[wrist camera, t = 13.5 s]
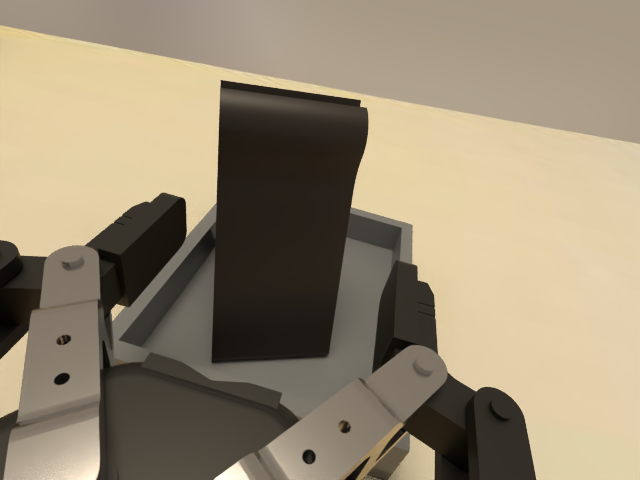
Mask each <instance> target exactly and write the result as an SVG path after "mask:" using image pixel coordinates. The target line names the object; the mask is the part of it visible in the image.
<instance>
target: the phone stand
mask: <svg viewBox="0 0 640 480" xmlns="http://www.w3.org/2000/svg"><path fill="white" fill-rule="evenodd" d="M360 103H361V100H355V99H348V98H341V97H334V96H327V95H320V94H313V93H306V92H299V91H292V90H285V89H278V88H271V87H265V86H258V85H251V84H244V83H237V82H230V81H223V80H221V88H220V114H219V146H218V179H217V209H216V239H215V269H214V299H213V329H212V360H211V361H217V360H237V359H257V358H277V357H297V356H317V355H328V354H329V350H330V343H331V337H332V330H333V323H334V316H335V310H336V303H337V296H338V290H339V283H340V276H341V270H342V263H343V256H344V249H345V243H346V236H347V229H348V223H349V216H350V209H351V203H352V196H353V189H354V184H355V179H356V175H357V171H358V168H359V165H360V162H361V159H362V156H363V154H364V150H365V146H366V142H367V135H368V111H367V108H364V107H360Z"/></svg>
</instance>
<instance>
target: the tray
mask: <svg viewBox="0 0 640 480" xmlns="http://www.w3.org/2000/svg"><path fill="white" fill-rule="evenodd" d="M216 209H217V203H216V204H215V205H214V206H213V208H212V209H211V210H210V211H209V212H208V213H207V214H206V216H205V217H204V218H203V219H202V220H201V221H200V222H199V224H198V225H197V226H196V227H195V228H194V229H193V230H192V232H191V233H190V234H189V235H188V236H187V237H186V238H185V241H184V243H183V245H182V247H181V248H180V249H179V250H178V251H177V253H176V254H175V255H174V256H173V257H172V258H171V260H170V261H169V262H168V263H167V264H166V265H165V267H164V268H163V269H162V270H161V271H160V272H159V274H158V275H157V276H156V277H155V278H154V279H153V281H152V282H151V283H150V284H149V285H148V286H147V288H146V289H145V290H144V291H143V292H142V293H141V295H140V296H139V297H138V298H137V299H136V300H135V302H134V303H133V304H132V305H131V306H130V307H125V308H124V309H123V310H122V311H121V312H120V314H119V315H118V316H117V317H116V318H115V319H114V320H113V321H112V329H113V344H114V359H115V365H119V364H124V363H130V362H144V361H145V359H146V358H147V356H148V355H149V353H150V352H152V353H155V354H158V355H161V356H165V357H168V358H171V359H174V360H178V361H181V362H183V363H185V364H186V365H188V366H190V367H191V368H193V369H194V370H196V371H197V372H199V373H201V374H202V375H204V376H205V377H207V378H208V379H210V380H214V381H229V382H247V383H252V384H255V385H259V386H262V387H265V388H268V389H272V390H275V391H278V392H281V393H282V396H281V400H280V403H281V404H282V405H284V406H285V407H287V408H288V409H289V410H290V411H291V412H293V413H294V415H295V416H296V417H297V418H298V419H299V420H301V419H303V418H304V417H305V416H307V415H308V414H309V413H311V412H312V411H313V410H315V409H316V408H317V407H319V406H320V405H321V404H323V403H324V402H325V401H327V400H328V399H329V398H331V397H332V396H333V395H335V394H336V393H337V392H339V391H340V390H341V389H343V388H344V387H345V386H347V385H348V384H349V383H351V382H352V381H353V380H355V379H357V378H361V379H362V380H364V379H366V378H368V377H369V376H370V375H371V374H372V368H373V358H374V348H375V339H376V329H377V320H378V310H379V303H380V298H381V295H382V292H383V289H384V286H385V284H386V282H387V279H388V277H389V275H390V272H391V270H392V268H393V265H394V263H395V261H396V260H399V261H403V262H406V263H410V264H412V225H411V224H408V223H404V222H401V221H397V220H394V219H390V218H386V217H383V216H379V215H376V214H372V213H369V212H365V211H362V210H358V209H355V208H351V209H350V216H349V223H348V229H347V236H346V243H345V249H344V256H343V263H342V270H341V276H340V283H339V290H338V296H337V303H336V310H335V316H334V323H333V330H332V337H331V343H330V350H329V354H328V355H317V356H297V357H277V358H257V359H237V360H217V361H211V360H212V329H213V299H214V269H215V239H216ZM409 445H410V433H407V434H406V435H405V436H404V437H403V438H402V439H401V440H400V441H399V442H398V443H397V444H396V445H395V446H394V447H393V448H392V449H391V450H390V451H389V452H388V453H387V454H386V455H385V456H384V457H383V458H382V459H381V460H380V461H379V462H378V463H377V464H376V465H375V466H374V467H373V468H372V469H371V470H370V471H369V472H368V473H367V475H370V476H373V477H376V478H379V479H382V480H387V479H388V478H389V477H390V475H391V474H392V473H393V472H394V470H395V469H396V468H397V467H398V465H399V464H400V463H401V461H402V460H403V459H404V458H405V456H406V455H407V454H408V453H409Z"/></svg>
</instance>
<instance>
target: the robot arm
mask: <svg viewBox="0 0 640 480" xmlns="http://www.w3.org/2000/svg"><path fill="white" fill-rule="evenodd" d="M186 233H187V228H186V202H185V199H184V198H181V197H178V196H174V195H171V194H167V193H161V194H160V195H159V196H158V197H156V198H155V199H154V200H153V201H152V202H151V203H149V202H143V203H141V204H138V205H136V206H133V207H131V208H130V209H129V210H128V211H127V212H125V213H124V214H123V215H122V217H119V218H118V219H117V220H116V221H114V223H112V224H111V225H109V226H108V227H107V228H106V229H105V230H103V231H102V232H101V233H100V234H98V235H97V236H96V237H95V238H94V239H92V240H91V241H90V242H89V243H87V244H86V245H85V246H78V245H77V246H68V247H64V248H61V249H59V250H57V251H55V252H53V253H52V254H50V255H49V256H48V257H37V256H20V254H19V251H18V248H17V247H16V246H15V245H14V244H13V243H11V242H8V241H1V240H0V359H1V358H2V357H3V356H4V355H5V354H6V353H7V352H8V351H9V350H10V349H11V348H12V347H13V346H14V345H15V344H16V343H17V342H18V341H19V340H20V339H21V338H22V337H23V336H24V335H25V334H26V333H27V332H28V331H29V333H28V341H27V348H26V356H25V364H24V372H23V380H22V387H21V395H20V403H19V409H18V410H16V411H14V412H12V413H10V414H8V415H6V416H4V417H1V418H0V480H362V479H363V478H364V477H365V476H366V475H367V473H368V472H369V471H370V470H371V469H372V468H373V467H374V466H375V465H376V464H377V463H378V462H379V461H380V460H381V459H382V458H383V457H384V456H385V455H386V454H387V453H388V452H389V451H390V450H391V449H392V448H393V447H394V446H395V445H396V444H397V443H398V442H399V441H400V440H401V439H402V438H403V437H404V436H405V435H406V434H407V433H410V434H411V435H413V436H414V437H416V438H417V439H419V440H420V441H422V442H423V443H425V444H426V445H427V446H429V447H430V448H432V449H433V450H435V480H536V475H535V470H534V465H533V460H532V455H531V449H530V444H529V439H528V434H527V429H526V423H525V419H524V415H523V413H522V411H521V409H520V407H519V406H518V405H517V403H516V402H515V401H514V400H513V399H512V398H511V397H510V396H508V395H507V394H506V393H504V392H502V391H501V390H498V389H496V388H492V387H483V388H480V389H479V390H478V391H477V392H476V391H474V390H472V389H471V388H469V387H467V386H466V385H464V384H462V383H461V382H459V381H457V380H456V379H454V378H453V377H452V376H451V375H450V374H449V373H448V372H447V368H446V365H445V363H444V361H443V360H442V359H441V357H440V356H439V355H438V350H437V334H436V319H435V309H434V307H435V303H434V294H433V292H432V291H431V289H430V287H429V285H428V283H425V282H421V281H418V278H417V266H416V265H413V264H410V263H406V262H403V261H399V260H396V261H395V263H394V265H393V268H392V270H391V272H390V275H389V277H388V279H387V282H386V284H385V286H384V289H383V292H382V295H381V298H380V303H379V310H378V320H377V329H376V339H375V348H374V358H373V368H372V374H371V375H370V376H369V377H368V378H366V379H364V380H362V379H361V378H357V379H355V380H353V381H352V382H351V383H349V384H348V385H347V386H345V387H344V388H343V389H341V390H340V391H339V392H337V393H336V394H335V395H333V396H332V397H331V398H329V399H328V400H327V401H325V402H324V403H323V404H321V405H320V406H319V407H317V408H316V409H315V410H313V411H312V412H311V413H309V414H308V415H307V416H305V417H304V418H303V419H301V420H299V419H298V418H297V417H296V416H295V415H294V413H293V412H291V411H290V410H289V409H288V408H287V407H285V406H284V405H282V404H281V403H280V400H281V396H282V393H281V392H278V391H275V390H272V389H268V388H265V387H262V386H259V385H255V384H252V383H247V382H229V381H214V380H210V379H208V378H207V377H205V376H204V375H202V374H201V373H199V372H197V371H196V370H194V369H193V368H191V367H190V366H188V365H186V364H185V363H183V362H181V361H178V360H174V359H171V358H168V357H165V356H161V355H158V354H155V353H152V352H150V353H149V355H148V356H147V358H146V359H145V361H144V362H130V363H124V364H119V365H115V359H114V344H113V329H112V314H111V309H112V308H113V307H114V306H115V305H116V304H119V305H122V306H126V307H130V306H131V305H132V304H133V303H134V302H135V300H136V299H137V298H138V297H139V296H140V295H141V293H142V292H143V291H144V290H145V289H146V288H147V286H148V285H149V284H150V283H151V282H152V281H153V279H154V278H155V277H156V276H157V275H158V274H159V272H160V271H161V270H162V269H163V268H164V267H165V265H166V264H167V263H168V262H169V261H170V260H171V258H172V257H173V256H174V255H175V254H176V253H177V251H178V250H179V249H180V248H181V247H182V245H183V243H184V241H185V238H186Z"/></svg>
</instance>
